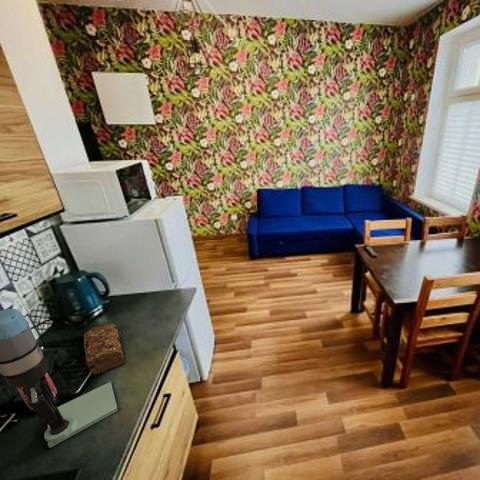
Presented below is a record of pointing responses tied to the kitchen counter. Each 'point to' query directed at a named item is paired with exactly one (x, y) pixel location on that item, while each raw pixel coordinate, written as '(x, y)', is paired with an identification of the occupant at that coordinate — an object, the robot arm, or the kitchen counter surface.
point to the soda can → (49, 385)
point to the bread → (103, 348)
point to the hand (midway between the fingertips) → (57, 424)
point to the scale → (84, 412)
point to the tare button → (60, 428)
